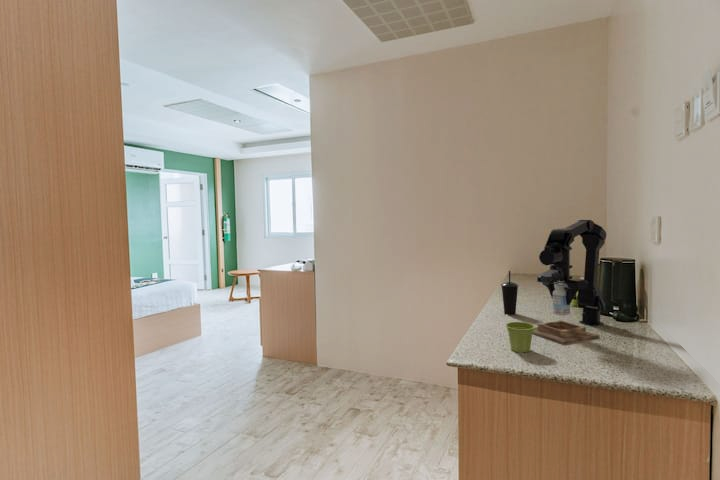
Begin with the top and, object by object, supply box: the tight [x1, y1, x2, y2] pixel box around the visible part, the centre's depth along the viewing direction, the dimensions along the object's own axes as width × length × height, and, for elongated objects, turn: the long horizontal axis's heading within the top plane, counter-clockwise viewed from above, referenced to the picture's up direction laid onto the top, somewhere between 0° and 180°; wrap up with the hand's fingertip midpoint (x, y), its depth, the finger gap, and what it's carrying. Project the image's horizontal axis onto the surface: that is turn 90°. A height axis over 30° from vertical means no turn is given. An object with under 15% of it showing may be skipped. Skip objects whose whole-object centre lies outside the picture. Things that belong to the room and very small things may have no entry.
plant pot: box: [505, 321, 536, 354], centre depth 143 cm, size 9×9×9 cm
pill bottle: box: [552, 283, 571, 316], centre depth 158 cm, size 6×6×11 cm
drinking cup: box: [500, 270, 519, 316], centre depth 192 cm, size 8×8×20 cm
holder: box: [532, 320, 600, 345], centre depth 159 cm, size 18×18×4 cm
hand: (561, 303), depth 158 cm, fingers closed on pill bottle, 6 cm apart
